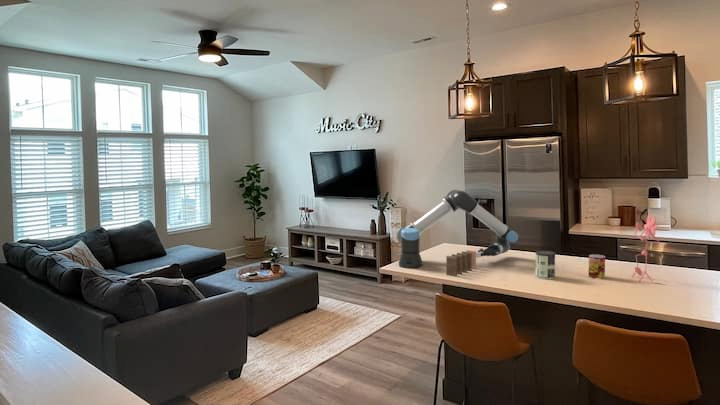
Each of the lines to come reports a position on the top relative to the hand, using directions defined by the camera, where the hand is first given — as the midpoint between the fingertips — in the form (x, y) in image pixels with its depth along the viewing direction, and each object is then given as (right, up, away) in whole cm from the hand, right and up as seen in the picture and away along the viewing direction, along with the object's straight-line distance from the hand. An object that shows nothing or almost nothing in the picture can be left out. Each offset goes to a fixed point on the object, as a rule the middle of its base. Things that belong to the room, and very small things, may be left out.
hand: (477, 255), depth 267 cm
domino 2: (-16, -9, -16) cm, 24 cm away
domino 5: (-5, -7, -4) cm, 10 cm away
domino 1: (-20, -9, -20) cm, 30 cm away
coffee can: (+31, -9, -27) cm, 42 cm away
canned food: (+59, -9, -29) cm, 66 cm away
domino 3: (-13, -8, -12) cm, 19 cm away
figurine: (+83, -9, -37) cm, 91 cm away
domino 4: (-9, -8, -8) cm, 14 cm away
